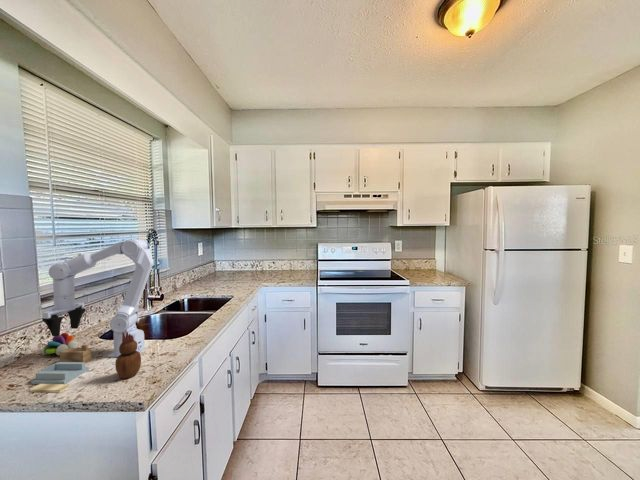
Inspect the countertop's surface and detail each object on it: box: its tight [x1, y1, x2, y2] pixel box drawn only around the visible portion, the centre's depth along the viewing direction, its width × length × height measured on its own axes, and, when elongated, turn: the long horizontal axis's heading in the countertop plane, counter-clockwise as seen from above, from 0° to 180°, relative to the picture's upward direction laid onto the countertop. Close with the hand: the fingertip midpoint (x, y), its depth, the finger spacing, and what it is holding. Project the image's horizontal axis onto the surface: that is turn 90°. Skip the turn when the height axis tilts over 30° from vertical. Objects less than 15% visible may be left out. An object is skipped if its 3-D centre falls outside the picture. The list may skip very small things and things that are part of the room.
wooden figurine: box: [114, 332, 142, 379], centre depth 91 cm, size 7×6×15 cm
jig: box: [31, 361, 90, 385], centre depth 90 cm, size 10×9×3 cm
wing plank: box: [29, 383, 70, 394], centre depth 83 cm, size 9×3×1 cm, turn 88°
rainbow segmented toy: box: [41, 332, 79, 356], centre depth 108 cm, size 8×10×7 cm
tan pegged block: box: [59, 344, 92, 364], centre depth 100 cm, size 8×4×6 cm, turn 90°
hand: (65, 331), depth 103 cm, fingers open, 7 cm apart
